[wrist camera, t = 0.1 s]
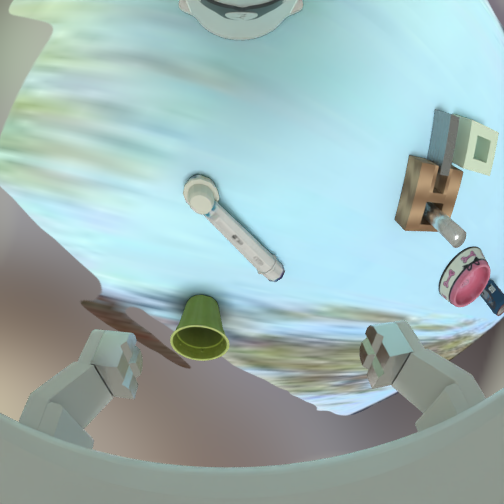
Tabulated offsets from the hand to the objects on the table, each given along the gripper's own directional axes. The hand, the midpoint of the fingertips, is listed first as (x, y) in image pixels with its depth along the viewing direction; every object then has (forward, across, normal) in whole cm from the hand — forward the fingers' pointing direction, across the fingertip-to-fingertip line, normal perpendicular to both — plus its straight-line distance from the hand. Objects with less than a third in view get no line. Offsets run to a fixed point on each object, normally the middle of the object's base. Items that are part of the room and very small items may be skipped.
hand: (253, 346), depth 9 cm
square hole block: (+38, -47, -9) cm, 61 cm away
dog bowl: (+42, -64, +27) cm, 81 cm away
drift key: (+38, -38, -7) cm, 54 cm away
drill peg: (+40, -38, +7) cm, 55 cm away
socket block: (+39, -38, +4) cm, 55 cm away
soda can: (+42, -83, +34) cm, 99 cm away
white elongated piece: (+41, 0, +13) cm, 43 cm away
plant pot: (+42, +8, +33) cm, 54 cm away
